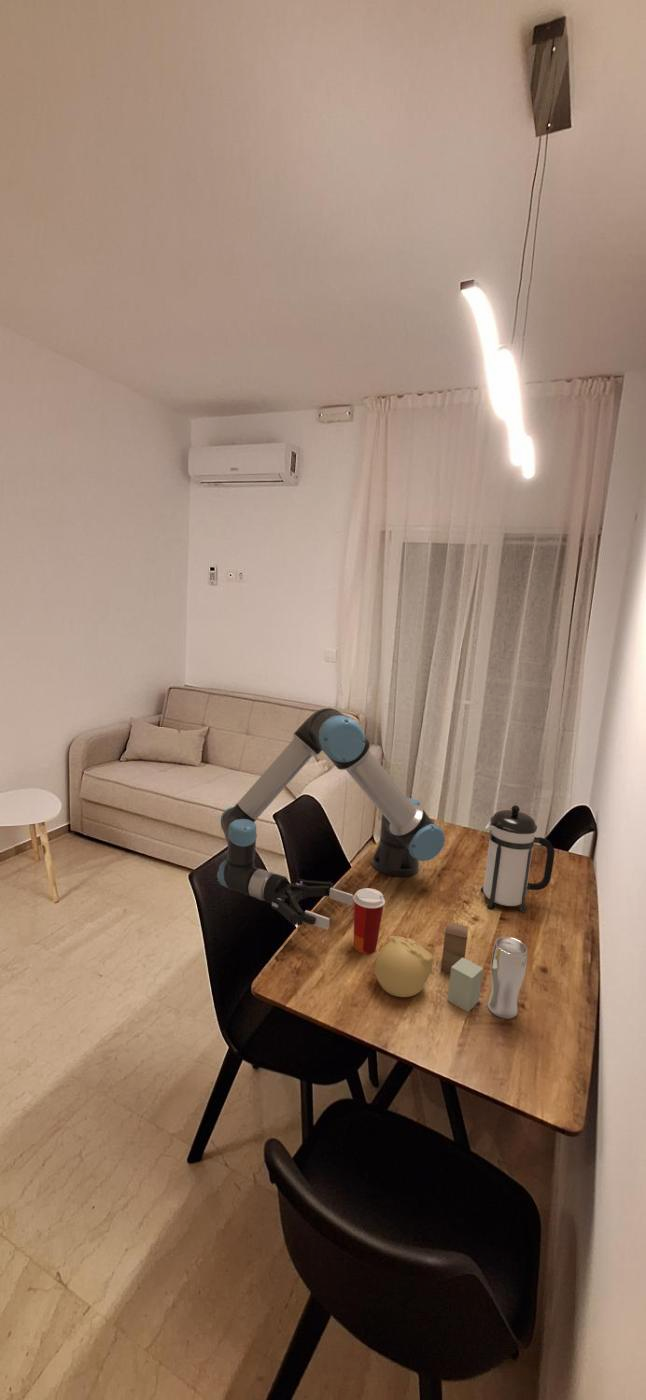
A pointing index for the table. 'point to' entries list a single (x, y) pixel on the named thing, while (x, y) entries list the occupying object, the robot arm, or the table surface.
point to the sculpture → (403, 967)
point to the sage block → (465, 984)
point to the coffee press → (512, 858)
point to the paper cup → (367, 919)
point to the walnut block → (453, 945)
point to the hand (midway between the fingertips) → (341, 911)
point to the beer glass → (507, 976)
